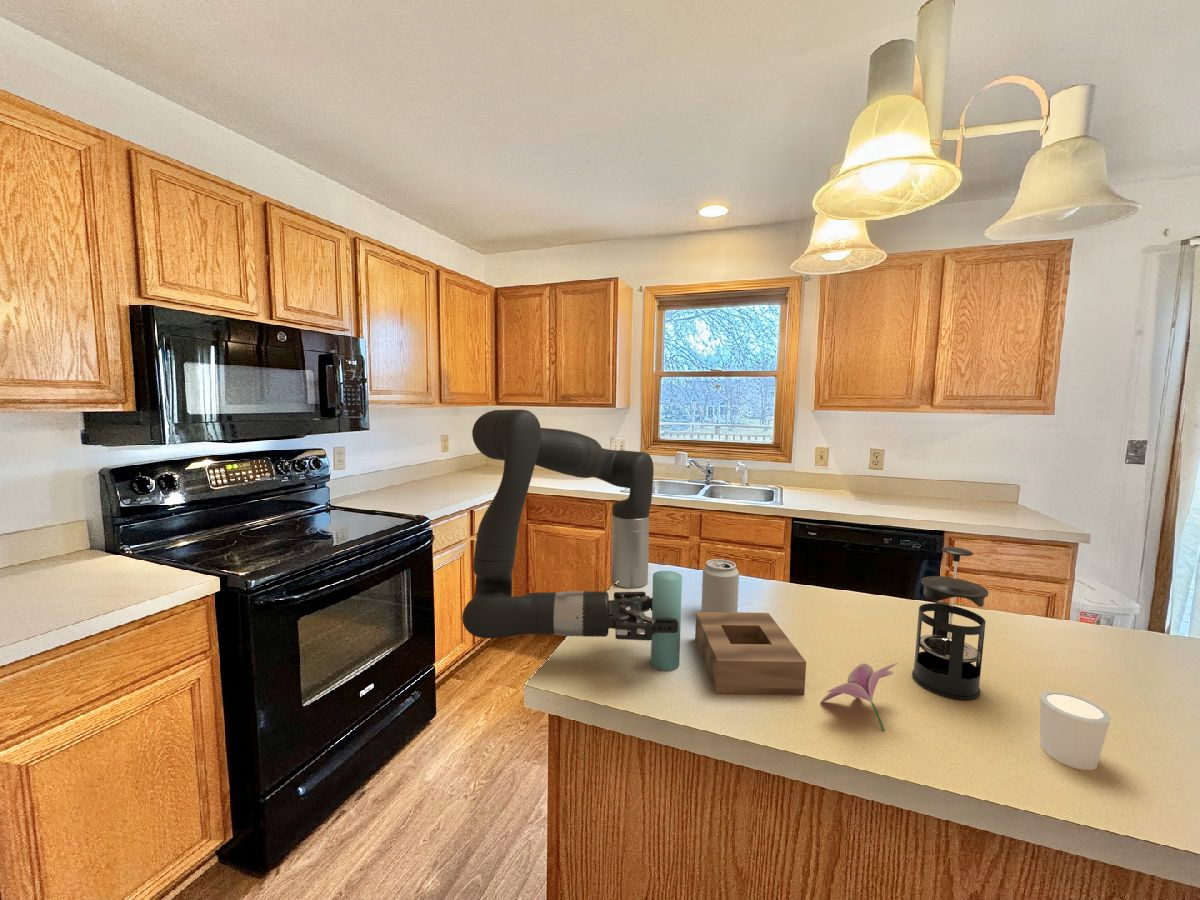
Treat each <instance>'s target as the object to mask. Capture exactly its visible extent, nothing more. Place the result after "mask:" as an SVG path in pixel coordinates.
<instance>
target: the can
mask: <svg viewBox="0 0 1200 900" xmlns="http://www.w3.org/2000/svg"><path fill="white" fill-rule="evenodd" d="M736 567H737V564H736V563H735V562H734V561H732V560H727V559H723V558H721V559H720V558H715V559H714V558H713V559H708V560H706V562H705V566H704V567H702V581H701V583H702V586H701V611H700V612H738V606H739V604H738V603H739V583H740V582H739V580H740V578H739V576H740V572H739V570H738V569H737V568H736Z"/></svg>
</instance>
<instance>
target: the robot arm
mask: <svg viewBox="0 0 1200 900" xmlns="http://www.w3.org/2000/svg"><path fill="white" fill-rule="evenodd" d="M471 433H472V434H471V435H472V441H473V443H474V446H475V447H476V449H477V450H478V451H479V452H480V453H481V454H482V455H484V456H485V457H487V458H489V459H493V460H494V461H495V460H497V461H498V460H499V461H503V463H504V464H503V473H502V477H501V481H500V483H499V484H500V485H499V486H498V488H497V491H496V494H495V495H494V497H493V498H492V501H491V502H490V504H489V506H488V507H487V509H486V510H485V513H484V514H483V516H482V518H481V520H480V523H479V525H478V528H477V529H478V530H477V533H476V540H475V547H474V557H473V567H472V568H473V573H474V574H475V585H474V593H473V594H474V595H473V598H471V600H469V601H468V602H467V604H466V605H465V607H464V609H463V612H462V619H461V620H462V623H463V626H464V629H465V630H466V631H467V632H468V633H469V634H471V635H472V636H473V637H477V638H481V639H499V638H508V637H516V636H521V635H551V636H552V635H556V636H564V637H589V638H591V637H595V638H596V637H597V638H598V637H601V638H603V637H604V638H605V637H608V636H609V629H613V630H615V632H614V633H615V639H617V640H624V641H625V640H627V641H628V640H630V641H651V640H652V636H653V635H655V633H676V632H677V631H678V621H677V619H675V618H655V619H654V618H652V616H651V617H649V616H647V615H645V612H648V611H651V612H652V597H650V596H649V595H646V592H645V591H615V592H614V593H613V599H611V600H610V599H609V598H610V597H609V593H608V592H607V591H602V590H601V591H597V590H596V591H595V590H594V591H589V590H585V591H580V590H571V591H570V590H567V591H566V590H565V591H560V592H559V591H558V592H555V591H554V592H553V591H552V592H548V591H547V592H544V591H543V592H537V591H536V592H529V593H526V594H524V595H520V596H519V595H518V596H513V570H514V565H515V557H516V549H517V540H518V534H519V533H518V532H519V528H520V520H521V517H522V512H523V509H524V506H525V503H526V497H527V494H528V491H529V487H530V484H531V481H532V477H533V474H534V470H535V466H538V467H540V468H544V469H545V470H546V469H547V470H549V471H553V472H556V473H560V474H563V475H567V476H572V477H576V478H582V479H590V478H595V479H598V480H601V481H603V482H605V483H608V484H610V485H612V486H615V487H618V488H626V489H629V494H628V495H629V496H628V497H627V498H626V499H622V500H618V501H616V502H614V503H613V504H612V511H611V513H612V514H611V524H612V525H611V528H612V529H611V577H610V578H611V583H612V584H613V585H615V583H616V582H617V581H619V582H617V584H616V585H615V586H618V587H622V588H626V589H628V588H629V589H630V588H631V589H632V588H633V589H635V588H640V587H644V586H646V585H647V584H648V582H649V549H650V547H649V541H650V538H649V536H650V509H651V505H652V498H653V484H654V471H655V470H654V467H655V466H654V461H653V458H652V457H651V455H650V454H649V453H647V452H644V451H643V452H642V451H634V450H623V449H622V450H621V449H620V450H615V449H610V448H609V449H608V448H603V447H602V446H601V444H600V442H598V441H597V440H596V439H594V438H593V437H591V436H588V435H585V434H582V433H579V432H575V431H572V430H567V429H565V430H564V429H559V428H547V427H541V424H540V421H539V419H538V417H537V416H536V415H535V414H534V413H533V412H532V411H529V410H526V409H495V410H491V411H487V412H485V413H484V414H482V415H481V416H479V417H478V418H477V420H476V421H475V422H474V425H473V427H472V432H471Z"/></svg>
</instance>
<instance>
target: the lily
mask: <svg viewBox="0 0 1200 900" xmlns="http://www.w3.org/2000/svg"><path fill="white" fill-rule="evenodd" d="M898 664H899V663H897V662H896V663H892V664H889V665H887V666H884V667H881V668H880V669H878V670H876V671H874V668H873V667H872V666H871V665H870V664H868V663H865V662H864V663H860V664H859V665H857V666H856V667H855V668H854V669H853V670H852V671H851V672H850V673H849V675H848V676H847V682H846V683H843V684H839V685H837V686H834V687H833V688H831V689H829V690H828V691H827V693H828V694H827V695H826V696H824V697H823V698H822V700H821V701H820V704H822V703H825V702H827V701H829V700H830V699H833V698H835V697H836V696H839V695H843V694H845V695H847V696H851V697H853V698H855V699H861V700H865V701H868V702H869V703H870V704H871V706H872V708H873V710H874V712H875V716H876V717H877V719H878V722H879V725H880V728H881V730H882V732H885V731H886V730H885V727H884V726H883V725H884V724H883V723H882V719H881V717H880V715H879V713H878V710H877V708H876V706H875V704H874V700H873V697H874V693H875V690H876V687H877V684H878V682H879V680H880V679H882V678H885V677H888V676H891V675H893V674H894V671H891V669H892V668H893V667H894V666H896V665H898Z"/></svg>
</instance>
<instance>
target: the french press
mask: <svg viewBox="0 0 1200 900" xmlns="http://www.w3.org/2000/svg"><path fill="white" fill-rule="evenodd" d="M940 549H941V551H942V552H944V553H947V554H951V555H952V561H953V562H954V566H953V567H954V568H953V576H952V577H950V576H941V575H931V576H926V577H925V576H924V577H922V578H921V579H920V581H921V584H922V585H923V596H924V597H926V598H927V599H929V600H931V601H935V602H934V603H924V604H921V605H920V606H919V607H918V616H917V626H916V629H917V630H916V639H915V640H916V641H915V653H914V664H913V669H912V672H911V677H912V678H913V680H915V681H916V682H915V681H914V682H915V683H916V684H917V683H918V686H920V687H921V686H922V687H921V688H923V689H924V690H926V689H927V690H926V691H928V690H929V691H928V692H930V691H931V693H932V692H933V693H932V694H935V695H937V694H938V695H937V696H940V695H941V696H940V697H943V696H944V698H946V697H947V699H951V700H957V701H973V699H974V700H976V699H978V698H980V696H981V692H982V691H981V688H980V684H981V674H982V673H981V672H982V664H983V663H982V661H983V651H984V641H985V633H986V620H985V618H983V616H981V615H980V614H977V613H976V612H974V611H971V610H969V609H966V608H963V607H959V606H955V605H954V604H955V598H961V599H962V598H963V599H967V600H969V601H971V602H972V603H973V604H974V605H976V606H977V607H979V608H983V607H984V605H985V598H987V597H988V596H989V591H988V589H986V587H983V586H981V585H980V584H977V583H974V582H972V581H969V580H965V579H961V578H957V570H958V563H959V562H960V561H961V556H962V557H970V556H974V553H973V551H971V550H968V549H966V548H962V547H956V546H945V547H942V548H940ZM947 599H950V600H951V601H950V604H949V603H948V602H944V601H943V600H947ZM927 612H933V617H931V616H929V615H927V614H925V613H927ZM953 615H957V616H961V617H964V618H966V619H970V620H971V621H974V622H975V623H977V624H978V625H977V626H968V625H967V626H965V625H964V626H963V625H958V624H953V617H954V616H953ZM922 622H923V623H924V624H926V625H928V626H930V627H932V632H931V633H932V634H926V635H922V624H923V623H922ZM976 635H977V636H978V641H977V648H975V647H974V646H972V645H970V644H969V643H966V641H965V639H966V636H976ZM920 648H921V650H923V651H920ZM973 663H976V664H973ZM938 672H939V673H938ZM940 673H945V674H947V676H946V675H943V674H940Z"/></svg>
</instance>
